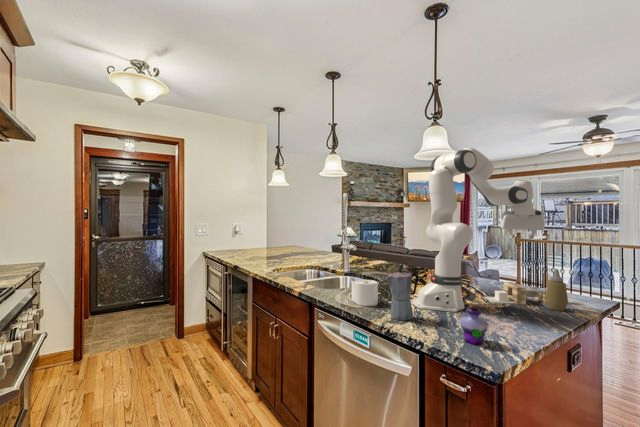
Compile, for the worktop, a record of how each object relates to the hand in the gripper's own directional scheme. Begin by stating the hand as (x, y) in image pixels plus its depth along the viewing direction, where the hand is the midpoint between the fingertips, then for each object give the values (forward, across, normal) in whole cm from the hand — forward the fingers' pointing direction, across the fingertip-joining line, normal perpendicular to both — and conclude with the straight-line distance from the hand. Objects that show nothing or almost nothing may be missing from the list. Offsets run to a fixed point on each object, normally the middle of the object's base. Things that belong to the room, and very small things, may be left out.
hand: (521, 238), depth 155 cm
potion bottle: (+32, -48, -60) cm, 83 cm away
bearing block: (+30, -7, -8) cm, 32 cm away
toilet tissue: (+32, -81, -21) cm, 90 cm away
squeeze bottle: (+31, +4, -20) cm, 37 cm away
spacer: (+28, -12, -9) cm, 32 cm away
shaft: (+28, +2, -8) cm, 29 cm away
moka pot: (+32, -67, -39) cm, 84 cm away
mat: (+31, -14, -8) cm, 35 cm away
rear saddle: (+30, +7, -8) cm, 32 cm away
